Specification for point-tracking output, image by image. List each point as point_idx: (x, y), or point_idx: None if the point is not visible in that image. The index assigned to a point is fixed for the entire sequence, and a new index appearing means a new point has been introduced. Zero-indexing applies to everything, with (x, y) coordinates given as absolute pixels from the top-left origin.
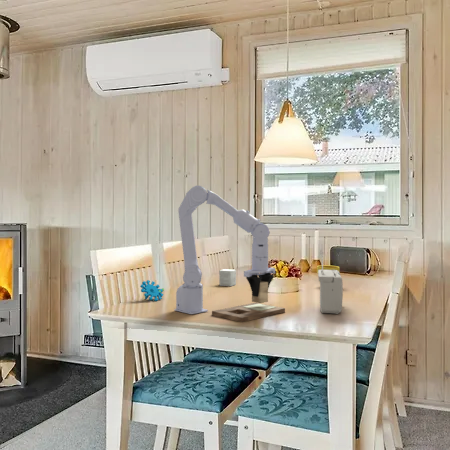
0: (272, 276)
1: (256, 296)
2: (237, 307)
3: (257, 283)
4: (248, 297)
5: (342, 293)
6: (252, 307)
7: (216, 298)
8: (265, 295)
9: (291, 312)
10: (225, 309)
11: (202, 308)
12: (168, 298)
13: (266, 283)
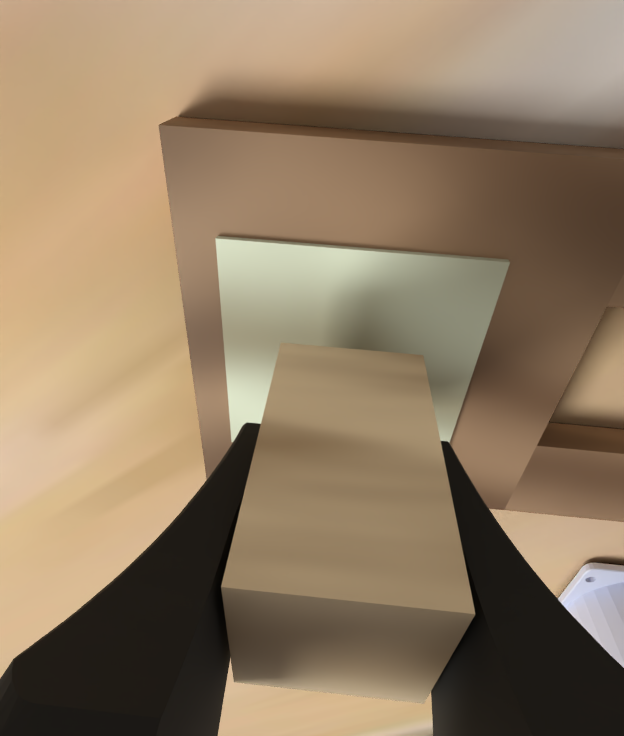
0: (47, 700)
1: (450, 447)
2: (475, 480)
3: (574, 628)
4: (58, 585)
5: None
6: None
7: None
8: (320, 402)
9: (111, 37)
10: (606, 500)
11: (620, 595)
12: (391, 727)
13: (274, 566)
